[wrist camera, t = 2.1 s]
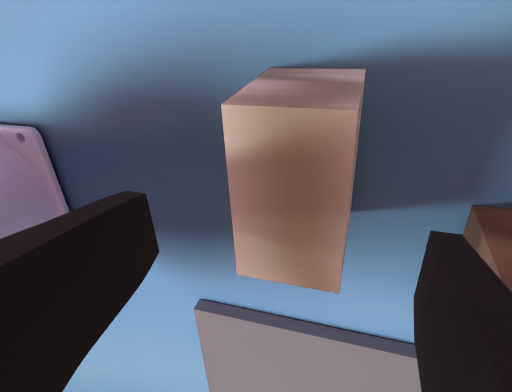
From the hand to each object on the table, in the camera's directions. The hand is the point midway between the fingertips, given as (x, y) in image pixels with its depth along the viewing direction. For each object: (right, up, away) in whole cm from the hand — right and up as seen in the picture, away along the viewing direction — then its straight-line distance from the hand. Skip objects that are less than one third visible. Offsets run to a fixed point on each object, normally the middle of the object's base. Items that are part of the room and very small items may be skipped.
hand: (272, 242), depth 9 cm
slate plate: (+3, -11, +13) cm, 17 cm away
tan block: (+2, +3, +5) cm, 7 cm away
